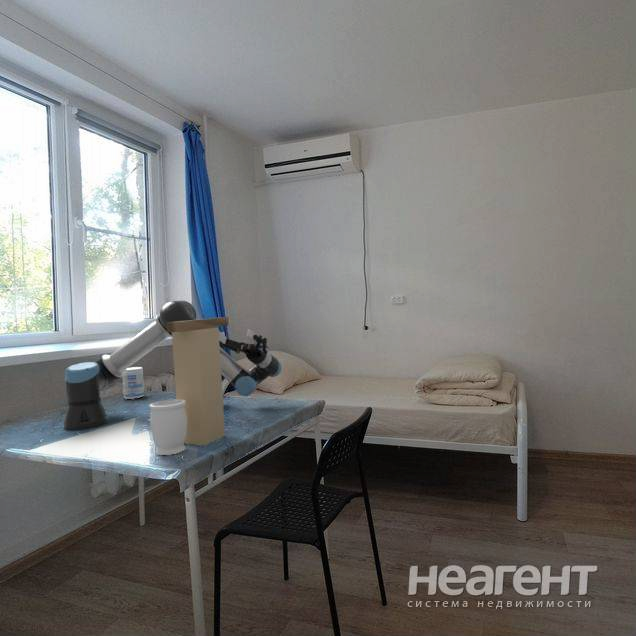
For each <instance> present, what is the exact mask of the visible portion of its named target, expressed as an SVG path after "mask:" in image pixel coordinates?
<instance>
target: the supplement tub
mask: <svg viewBox="0 0 636 636" xmlns="http://www.w3.org/2000/svg"><path fill="white" fill-rule="evenodd" d="M143 371H144V369H143V367H141V366H133V367H128V368H127V369H126V370H124V375H123V376H122V377H121V378H122V390H123V391H122V394H123V398H125V399H124V400H127V399H132V400H135V399H134V398H140V397H143V396H144V397H145V382H144V372H143ZM144 397H143V398H144ZM140 399H141V398H140Z"/></svg>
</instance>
